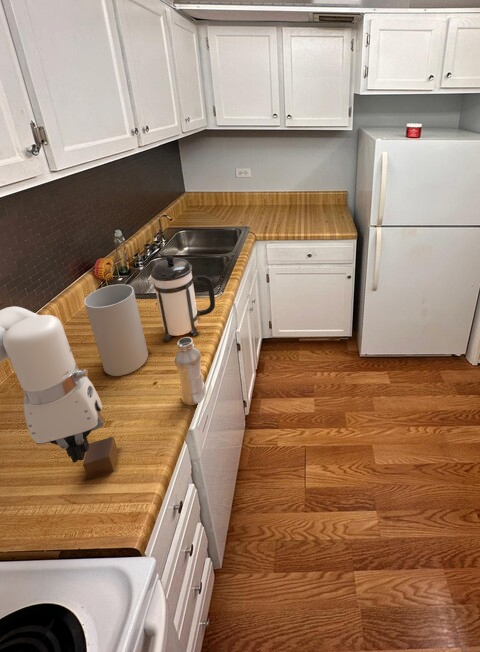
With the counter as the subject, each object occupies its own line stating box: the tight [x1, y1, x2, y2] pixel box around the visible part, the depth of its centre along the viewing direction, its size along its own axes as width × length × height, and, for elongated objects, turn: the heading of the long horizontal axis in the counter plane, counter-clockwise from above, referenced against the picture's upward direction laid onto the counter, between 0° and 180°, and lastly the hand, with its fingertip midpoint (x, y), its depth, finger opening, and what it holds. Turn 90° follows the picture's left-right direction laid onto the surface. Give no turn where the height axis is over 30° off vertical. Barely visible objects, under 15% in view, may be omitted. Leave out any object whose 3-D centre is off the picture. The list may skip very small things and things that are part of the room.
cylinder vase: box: [83, 283, 149, 377], centre depth 101 cm, size 12×12×25 cm
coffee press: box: [147, 254, 216, 342], centre depth 116 cm, size 17×16×30 cm
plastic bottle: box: [174, 336, 207, 406], centre depth 89 cm, size 6×7×20 cm
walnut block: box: [82, 436, 119, 480], centre depth 75 cm, size 5×5×5 cm
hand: (80, 454), depth 64 cm, fingers closed
